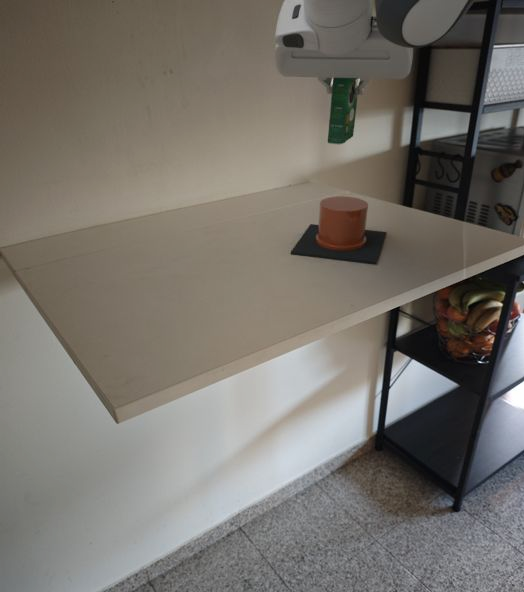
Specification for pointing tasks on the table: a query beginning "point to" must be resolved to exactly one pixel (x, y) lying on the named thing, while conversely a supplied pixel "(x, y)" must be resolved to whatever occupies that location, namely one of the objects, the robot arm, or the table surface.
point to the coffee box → (342, 111)
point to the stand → (342, 223)
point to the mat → (362, 255)
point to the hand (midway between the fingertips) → (345, 90)
